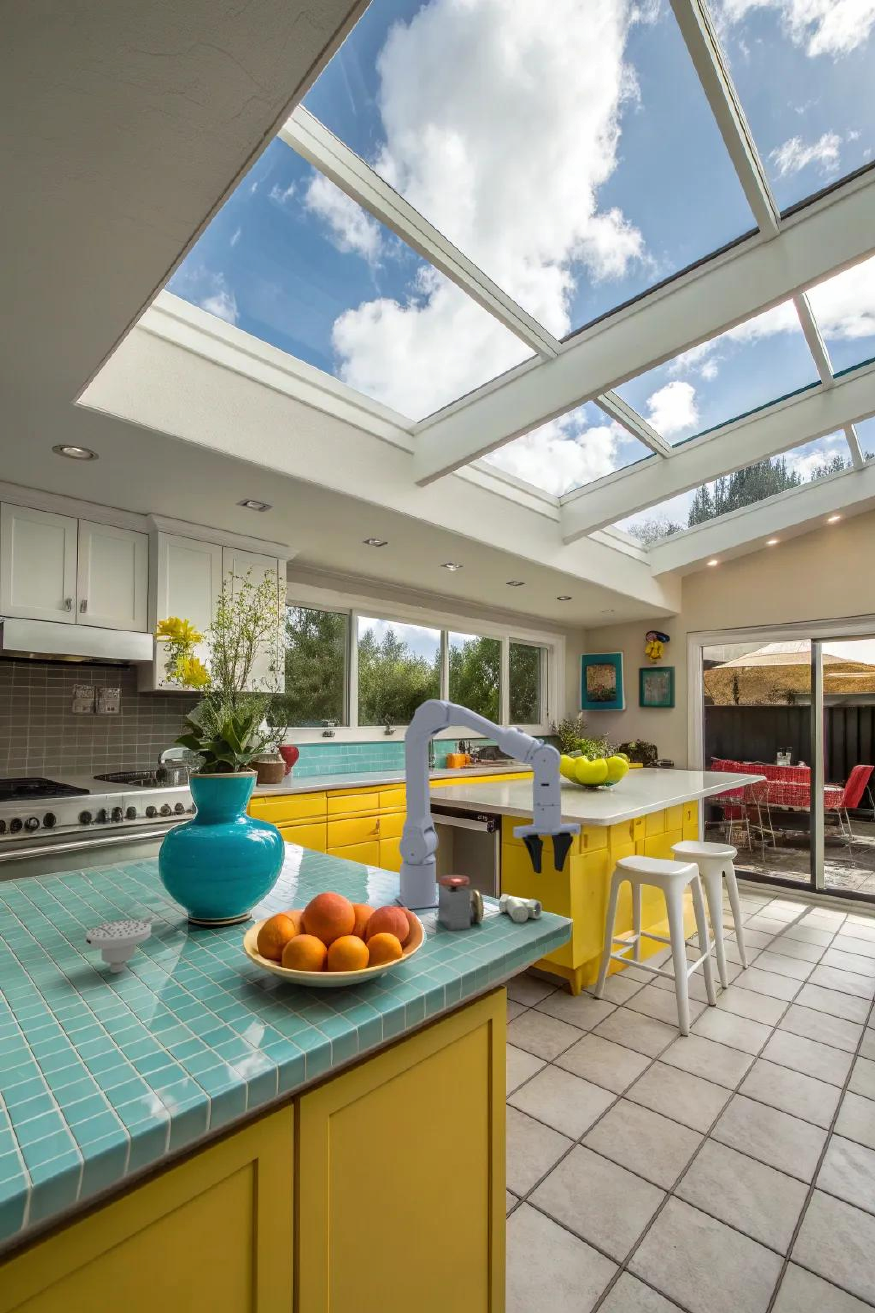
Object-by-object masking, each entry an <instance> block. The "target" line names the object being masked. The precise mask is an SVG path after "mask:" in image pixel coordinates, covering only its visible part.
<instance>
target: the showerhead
mask: <svg viewBox="0 0 875 1313" xmlns="http://www.w3.org/2000/svg"><path fill="white" fill-rule="evenodd" d="M152 920H153V917H152V916H148V917H146V918H144V919H143V920H140V919H138V920H135V919H131V920H128V919H125V920H121V921H120V920H116V921H114V922H112V921H109V922H108V923H102V924H101V925H96V926H95V927H94V928H92V929H90V930H88V931H87V932H86V935H85V937H86V938H85V942H86V945H87V946H88V947H91V948H94V949H101V961H102V962H105V963H107V964H110V973H112V974H113V973H116V974H117V973H121V972H124V971H126V966H127V964H126V961H129V960H131V959H132V958H134V956H135V954H136V944H139V943H142V942H144V941H146V940H148V939H149V938H150V937H151V935H152V925H151V924H150V922H152Z"/></svg>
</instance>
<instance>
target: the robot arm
mask: <svg viewBox="0 0 875 1313" xmlns="http://www.w3.org/2000/svg"><path fill="white" fill-rule="evenodd" d="M450 727H465V728H468V729H470V730H471V731H474V732H476V733H478V734H480V735H482V736H484V737H486V738H488V739H490V740H492V741H493V742H496V743H497V745H498V748H499V750H500V751H501V752H502V753H504V754H506V755H507V756H510V757H511V758H513V759H515V760H517V761H518V762H520V763H522V764H525V765H526V766H527V765H530V768H532V771H533V781H532V810H533V811H532V815H533V816H532V818H533V819H532V820H533V822H532V823H533V824H527V825H521V826H513V829H512V830H513V833H512V835H513V838H515V839H522V841H523V842H522V843H524V844H525V848H526V850H527V851H528V854H529V858H530V861H531V864H532V868H533V873H536V874H537V875H538V874H542V870H543V869H542V868H543V867H542V861H543V860H542V857H543V856H542V854H543V846H544V840H542V839H541V838H540V837H544V836H545V837H546V836H551V840H552V845H553V846H552V847H553V860H554V862H553V865H554V870H556V871H557V872H563V869H564V866H565V861H566V858H567V854H568V852H569V850H570V848H571V846H572V844H573V842H574V836H572V835H573V834H575V835H581V834H582V827H581V826H582V825H581V823H580V824H579V823H576V822H573V823H571V822H570V823H566V822H565V823H562V791H561V789H562V788H561V783H562V782H561V780H560V778H561V774H560V773H561V772H560V769H559V767H560V766H561V763H562V756H561V754H560V751H559V750H558V749H557V748H556V747H554V746H553V744H548V743H546V744H544V743H545V740H543V739H542V738H539V739H537V738H535V737H533V736H531V735H530V734H527V733H525V732H524V731H525V729H524V728H523V727H521V726H518V727H517V728H515V727H514V726H510V727H508V728H503V727H501V726H499V725H498V724H496V723H494V722H492V721H491V720H489V719H487V718H485V717H483V716H482V715H480V714H478V713H476V712H475V711H474V710H471V709H469V708H468V707H466V706H462V705H460V704H457V703H453V702H451V701H449V700H447V699H441V700H439V699H436V698H435V699H433V698H432V699H428V700H426V701H425V702H423V703H421V704H420V706H418V707H417V708H415V712H414V716H413V718H412V720H411V722H410V723H409V725H408V727H407V729H406V731H405V733H404V755H405V756H404V758H405V759H404V762H405V763H404V764H405V794H406V795H405V798H406V801H405V803H406V818H405V821H404V823H403V826H402V836H401V839H400V840H399V844H398V849H399V850H398V851H399V854H400V856H401V857H402V858H401V859H402V863H401V865H400V868H399V894H398V895H395V899H396V900H397V902H399V903H400V905H402V906H403V908H405V907H407V908H408V909H407V910H413V909H414V910H415V909H423V908H426V909H427V908H435V907H439V899H438V898H437V892H436V891H437V887H436V886H437V877H436V876H437V874H436V873H437V872H436V871H437V867H436V866H437V863H436V860H437V859H436V857H435V854H434V852H435V851H436V850H437V848H439V836H438V834H437V832H436V830H435V822H434V819H433V817H432V814H431V794H430V793H431V792H430V790H431V788H430V762H429V761H430V760H429V743H430V742H431V741H432V739H434V738H435V737H436V736H437V734H438V733H440V732H443V731H444V730H446V729H448V728H450Z"/></svg>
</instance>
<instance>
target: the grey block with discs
mask: <svg viewBox="0 0 875 1313" xmlns="http://www.w3.org/2000/svg"><path fill="white" fill-rule="evenodd" d="M469 884H470V877H468V876H467V875H460V874H446V875H442V876H439V877H438V901H439V906H438V920H439V921H440V923H442V924H443V926H445V927H446V928H447V929H448V930H449V931H459V930H461V931H462V930H467V929H471V924H472V923H481V922H482V921H483V919H484V914H485V913H484V912H485V911H484V909H485V908H484V901H483V900H484V899H483V897H482V893H481V892H480V890H478V889H470V890H469V888H467V887H466V886H468V885H469Z"/></svg>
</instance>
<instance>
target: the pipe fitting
mask: <svg viewBox="0 0 875 1313" xmlns="http://www.w3.org/2000/svg"><path fill="white" fill-rule="evenodd" d="M498 907H499V908H498V909H499V911H500V912H502V913H505V914H509V916H510V917H511V918H512V919H513V921H514V922H515V923H525V922H526V921H527V920H528V918H530V919H533V920H538V919H540V917H541V915H542V908H543V907H542V902H541V901H540V900H538V899H533V898H530V899H528V898H524V897H519V896H513V895H510V894H506V893H503V894H501V896H500V898H499V902H498ZM533 910H536V911H533Z"/></svg>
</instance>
